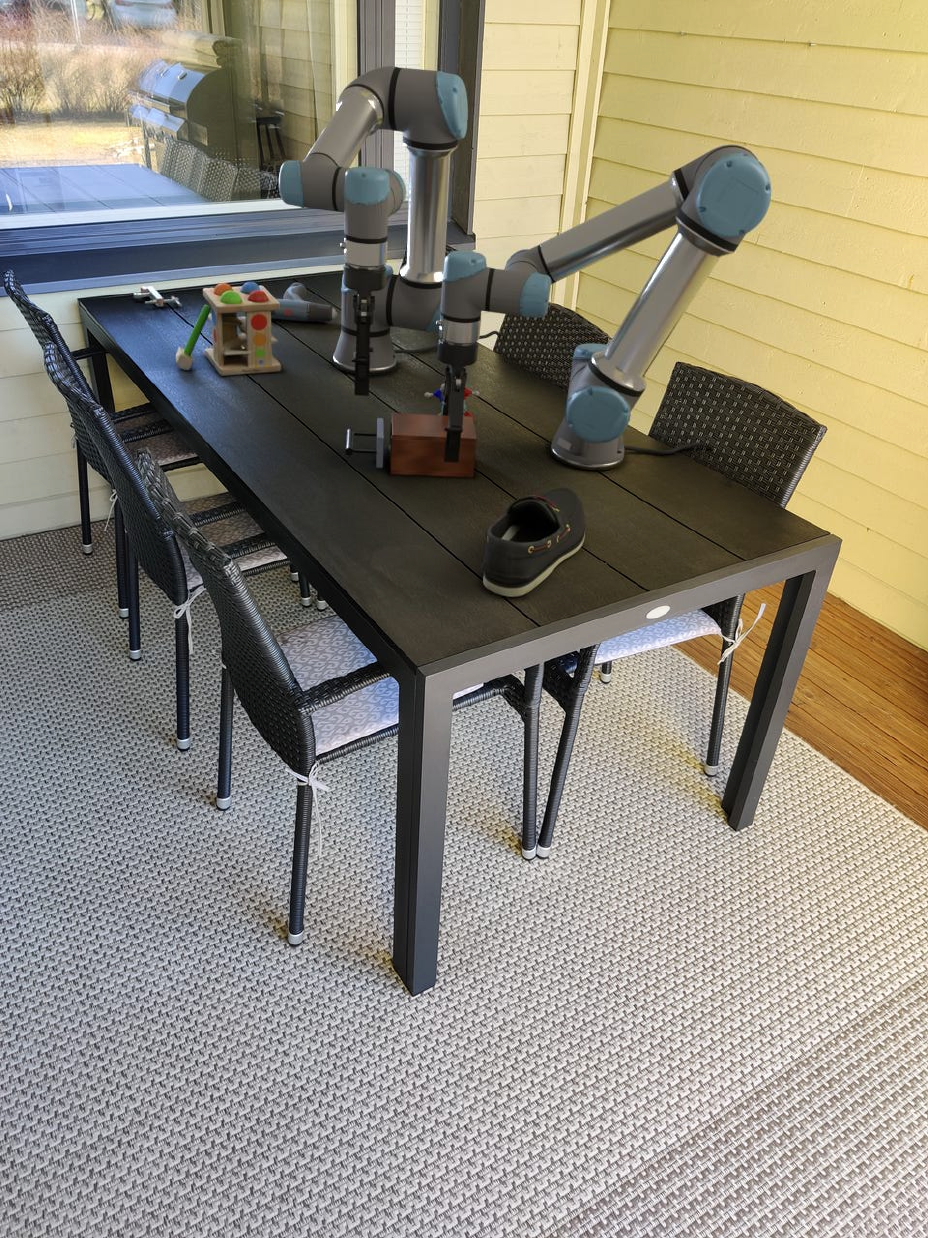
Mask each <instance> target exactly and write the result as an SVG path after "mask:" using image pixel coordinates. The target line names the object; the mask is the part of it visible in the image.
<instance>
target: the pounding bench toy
mask: <svg viewBox="0 0 928 1238" xmlns="http://www.w3.org/2000/svg"><path fill="white" fill-rule="evenodd" d="M202 296H203V298H204V299H205V300H206V301H207V302H208V304H209V305H208V304H204V305H203V307H202V309H201V312H200V313H199V316H198V318H197V320H196V322H195V324H194V327H193V329H192V331H191V332H190V333H191V334H190V336H189V338H188V340H187V343H186V344H185V347H184V348H182V347H180V346H179V347H178V349H177V351H176V354H175V357H174V358H175V362H176V365H177V366H178V368H179V369H182V370H185V371H189V370H190V369H191V367H192V365H193V363H194V356H193V351H194V348H195V347H196V345H197V342H198V340H199V337H200V336H201V333H202V332H203V329H204V326H205V325H206V322H207V320H209V321H210V322H211V336H212V337H211V338H212V339H211V340H212V348H205V349H204V352H205V353H204V355H205V357H206V359H208V361H209V363H210V364H211V365H212V366H213V367H214V369H215V370H216V371H217V372H218V374H219V375H220V376H222V377H223V376H234V375H235V376H236V375H246V374H247V375H250V374H262V373H275V372H281V370H282V364H281V363H280V362H279V360H278V359H277V358H276V357H275V356H274V355H273V348H272V347H273V345H272V344H276V343H278V342H279V341H278V339H277V338H276V337H275V336H274V334H272V318H271V310H280V303H279V302H278V301H277V300H276V299H277V298H276V297H274V296H273V295H272V294H271V293H270V292H269V290H268V289H267V288H266V287H264V285H259V284H257V283H256V282H255V281H247V282H245V283H244V284H243V285H242V286H232V285H230V284H229V283H226V282H221V283H218V284H217V285H216V286H215V287H204V288H203V289H202ZM238 313H244V314H245V315H244V316H238ZM238 329H239V331H240V333H239V334H238Z"/></svg>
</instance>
